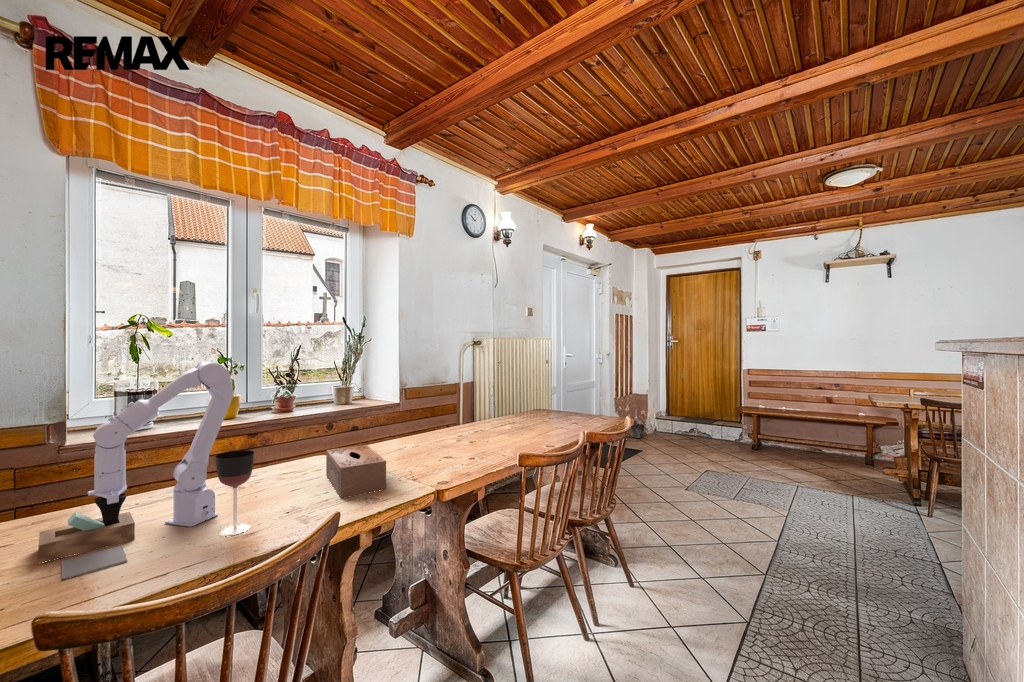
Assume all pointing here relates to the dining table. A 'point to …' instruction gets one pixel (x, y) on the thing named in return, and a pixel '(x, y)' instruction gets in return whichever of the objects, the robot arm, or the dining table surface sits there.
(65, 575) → the grey mat
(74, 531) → the walnut frame
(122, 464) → the robot arm
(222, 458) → the wineglass
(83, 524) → the teal block
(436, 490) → the dining table surface
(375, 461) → the tissue box cover
